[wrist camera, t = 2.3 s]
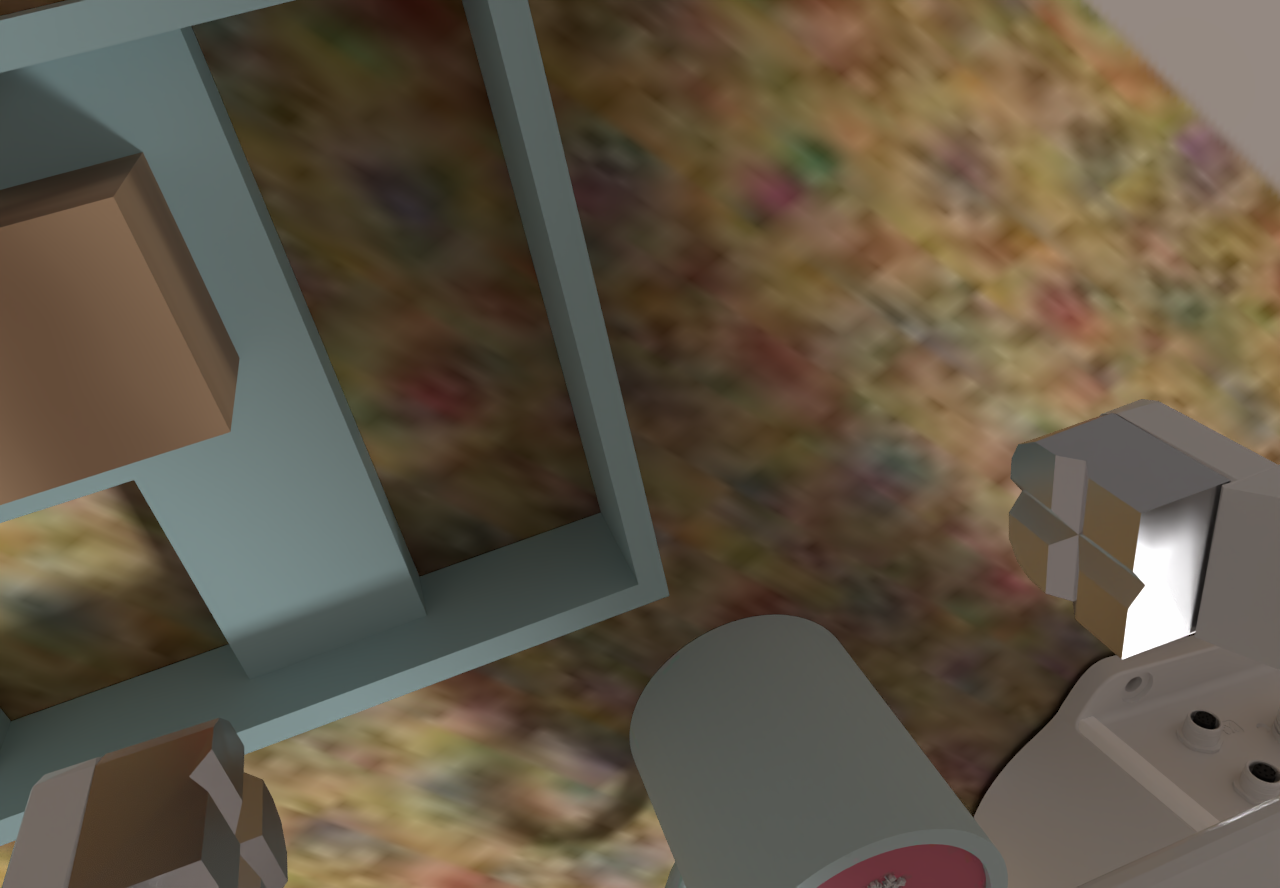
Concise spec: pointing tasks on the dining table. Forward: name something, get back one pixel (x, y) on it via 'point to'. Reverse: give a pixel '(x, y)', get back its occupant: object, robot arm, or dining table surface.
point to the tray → (306, 413)
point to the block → (102, 330)
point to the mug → (795, 771)
